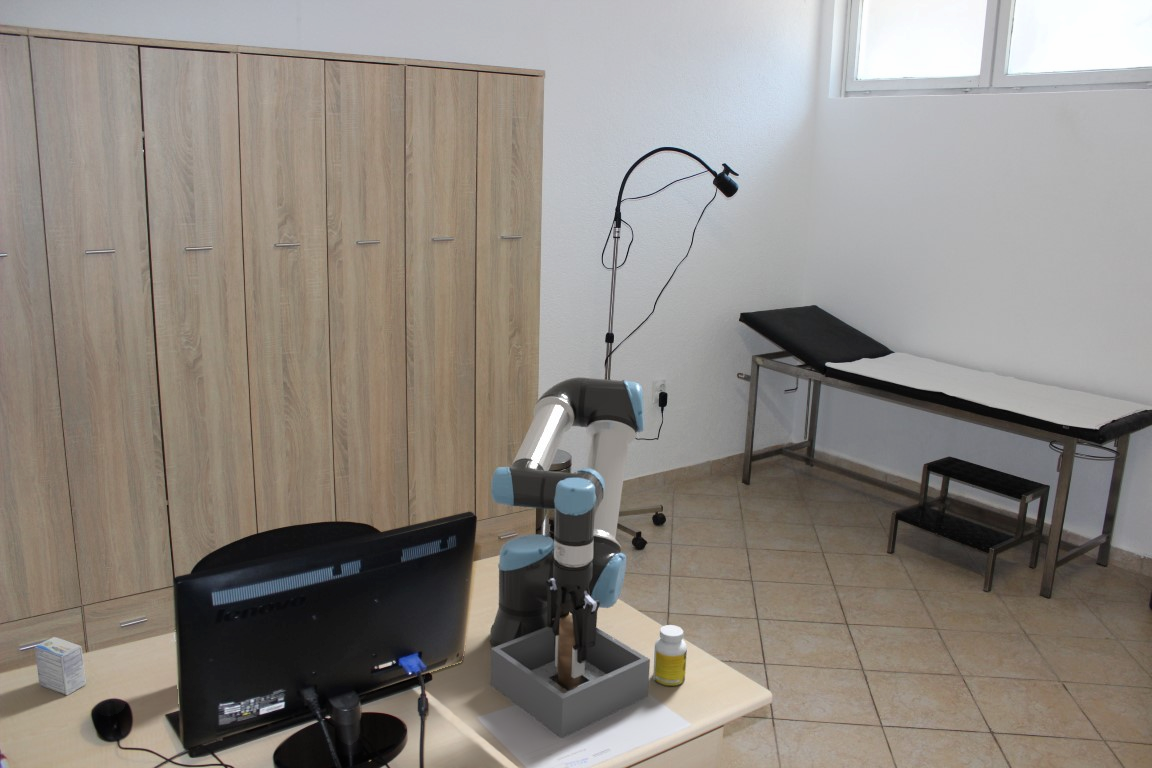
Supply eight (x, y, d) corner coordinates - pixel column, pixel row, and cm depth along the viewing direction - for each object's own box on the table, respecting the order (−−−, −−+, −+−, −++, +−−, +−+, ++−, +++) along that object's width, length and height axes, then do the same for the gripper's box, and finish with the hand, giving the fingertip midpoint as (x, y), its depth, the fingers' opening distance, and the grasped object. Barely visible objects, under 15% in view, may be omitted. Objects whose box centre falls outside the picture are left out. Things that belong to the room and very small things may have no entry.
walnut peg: (553, 683, 184) (554, 618, 180) (570, 676, 187) (572, 612, 183) (567, 693, 181) (569, 627, 177) (584, 685, 183) (586, 620, 180)
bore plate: (519, 686, 185) (519, 675, 184) (572, 663, 193) (573, 652, 193) (564, 719, 174) (564, 707, 174) (619, 693, 183) (619, 682, 183)
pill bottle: (683, 693, 186) (686, 640, 183) (650, 688, 187) (653, 636, 184) (686, 676, 192) (689, 624, 189) (654, 671, 193) (657, 620, 191)
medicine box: (87, 685, 182) (82, 645, 180) (66, 696, 178) (61, 655, 176) (59, 675, 185) (54, 635, 183) (38, 686, 182) (33, 645, 179)
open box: (490, 689, 185) (491, 648, 183) (574, 653, 199) (576, 615, 197) (561, 742, 169) (562, 698, 167) (647, 700, 183) (649, 659, 181)
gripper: (529, 549, 181) (527, 657, 187) (588, 581, 168) (584, 696, 174) (559, 539, 186) (556, 645, 192) (618, 570, 173) (613, 682, 179)
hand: (569, 669), depth 183 cm, fingers closed on walnut peg, 4 cm apart
